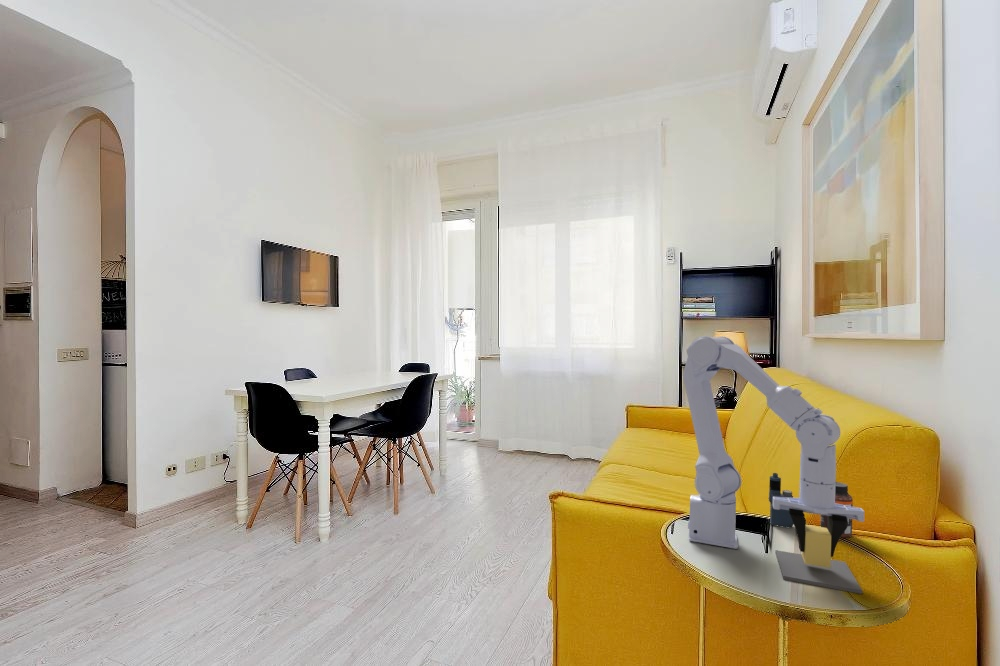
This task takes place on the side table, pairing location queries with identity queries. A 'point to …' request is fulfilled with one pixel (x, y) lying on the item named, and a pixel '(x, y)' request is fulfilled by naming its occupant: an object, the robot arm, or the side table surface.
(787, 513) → the vaping device
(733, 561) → the side table surface
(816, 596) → the side table surface
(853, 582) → the charcoal mat
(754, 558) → the side table surface
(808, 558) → the mustard block
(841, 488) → the supplement bottle
